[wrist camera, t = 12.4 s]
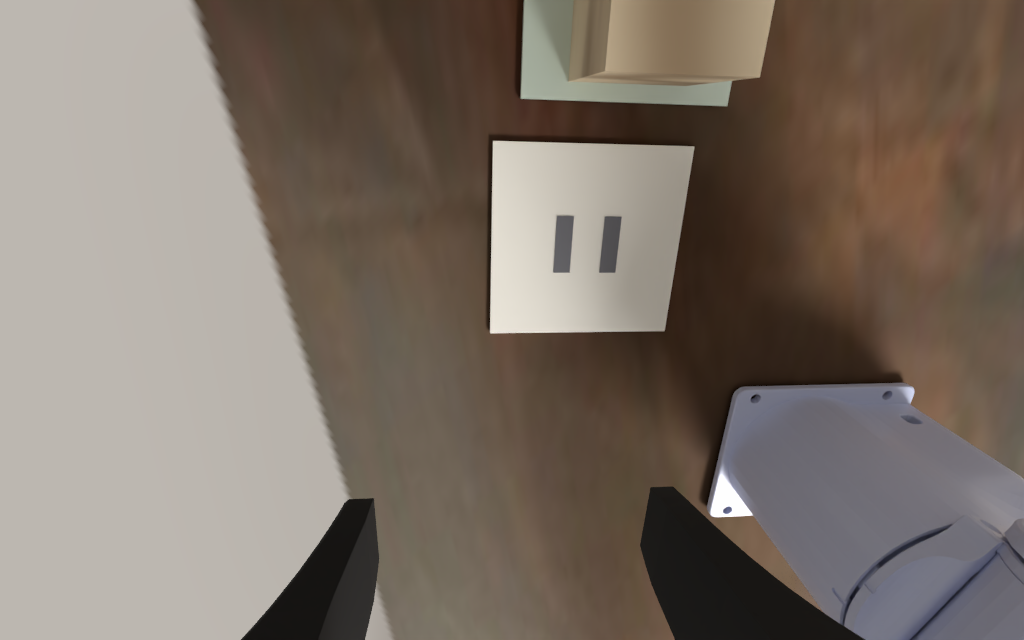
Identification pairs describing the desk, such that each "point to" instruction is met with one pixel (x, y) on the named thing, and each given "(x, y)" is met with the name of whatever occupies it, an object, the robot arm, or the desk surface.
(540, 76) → the sage coaster
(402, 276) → the desk surface
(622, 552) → the desk surface
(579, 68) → the maple block
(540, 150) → the tile
